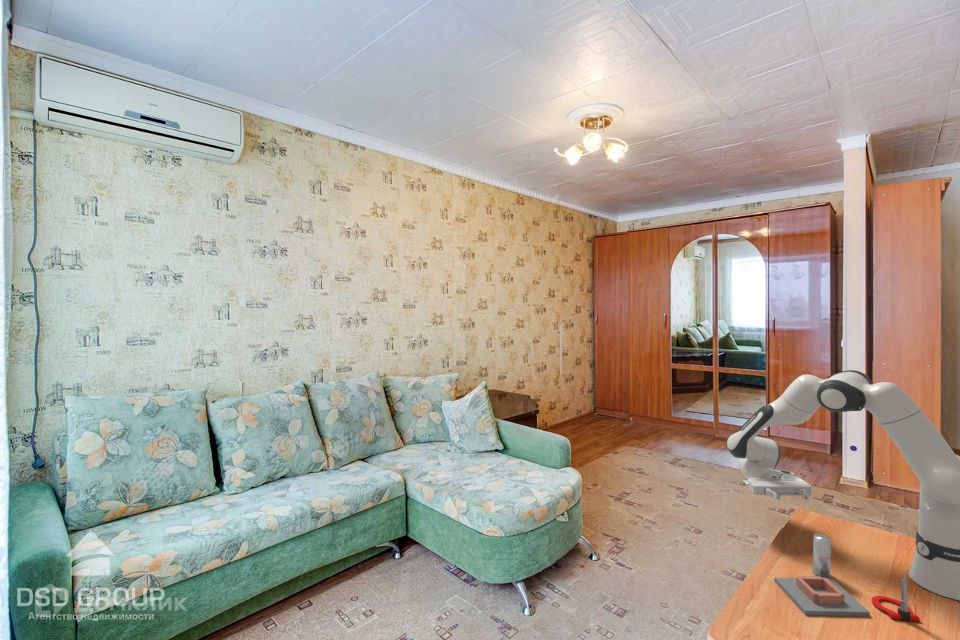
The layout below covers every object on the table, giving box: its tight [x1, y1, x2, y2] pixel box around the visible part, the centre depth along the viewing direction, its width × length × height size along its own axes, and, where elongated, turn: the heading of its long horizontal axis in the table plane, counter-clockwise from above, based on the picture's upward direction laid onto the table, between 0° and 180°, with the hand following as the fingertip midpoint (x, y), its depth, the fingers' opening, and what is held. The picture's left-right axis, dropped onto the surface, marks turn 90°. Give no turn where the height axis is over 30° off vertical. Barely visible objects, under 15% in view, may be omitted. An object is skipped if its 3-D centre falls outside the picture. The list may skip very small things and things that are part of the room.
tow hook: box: [871, 571, 921, 622], centre depth 123 cm, size 8×13×9 cm
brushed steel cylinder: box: [812, 533, 832, 579], centre depth 138 cm, size 4×4×12 cm
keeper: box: [773, 575, 871, 617], centre depth 128 cm, size 17×14×4 cm
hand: (792, 497), depth 152 cm, fingers open, 8 cm apart
